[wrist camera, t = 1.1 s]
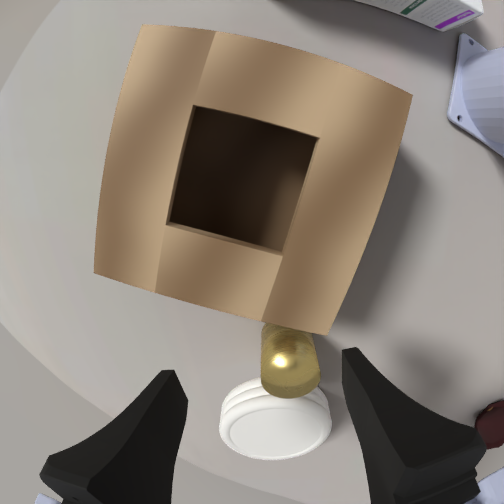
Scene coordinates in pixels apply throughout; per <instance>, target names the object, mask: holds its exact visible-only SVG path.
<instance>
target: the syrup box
mask: <svg viewBox="0 0 504 504" xmlns="http://www.w3.org/2000/svg"><path fill="white" fill-rule="evenodd" d="M354 1H358V2H362V3H365V4H369V5H372V6H375V7H378V8H382V9H385V10H388V11H390V12H393V13H396V14H399V15H401V16H404V17H407V18H409V19H412V20H415V21H417V22H420V23H422V24H424V25H427V26H429V27H432V28H434V29H436V30H439V31H442V32H444V31H447V30H451V29H454V28H456V27H459V26H461V25H464V24H466V23H468V22H470V21H472V20H474V19H476V18H477V17H479V16H481V15H482V14H483V7H482V1H481V0H354Z"/></svg>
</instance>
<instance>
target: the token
mask: <svg viewBox="0 0 504 504" xmlns="http://www.w3.org/2000/svg"><path fill="white" fill-rule="evenodd" d="M320 379H321V373H320V368H319V364H318V359H317V354H316V350H315V346H314V341H313V337H312V333H311V332H306V331H302V330H297V329H293V328H288V327H284V326H279V325H275V324H271V323H266V324H265V325H264V327H263V329H262V334H261V384H262V387H263V388H264V390H265V391H266V392H268V393H269V394H271V395H273V396H275V397H278V398H284V399H292V398H298V397H301V396H304V395H306V394H308V393H310V392H311V391H313V390H314V389H315V388H316V387H317V385H318V384H319V382H320Z"/></svg>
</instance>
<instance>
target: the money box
mask: <svg viewBox="0 0 504 504" xmlns="http://www.w3.org/2000/svg"><path fill="white" fill-rule="evenodd" d="M412 96H413V95H412V94H410V93H408V92H406V91H404V90H402V89H400V88H398V87H396V86H393V85H391V84H389V83H387V82H385V81H383V80H380V79H378V78H376V77H374V76H371V75H369V74H367V73H364V72H362V71H359V70H357V69H354V68H352V67H349V66H346V65H344V64H341V63H338V62H336V61H333V60H330V59H327V58H324V57H321V56H318V55H315V54H312V53H309V52H305V51H302V50H299V49H295V48H292V47H288V46H284V45H281V44H277V43H273V42H269V41H264V40H260V39H256V38H251V37H246V36H241V35H236V34H230V33H224V32H218V31H212V30H204V29H196V28H188V27H177V26H164V25H143V24H142V26H141V29H140V32H139V34H138V37H137V40H136V43H135V46H134V49H133V51H132V55H131V58H130V61H129V64H128V67H127V70H126V74H125V77H124V81H123V84H122V88H121V91H120V95H119V99H118V103H117V107H116V111H115V115H114V120H113V124H112V129H111V133H110V138H109V143H108V148H107V154H106V159H105V165H104V171H103V178H102V185H101V192H100V200H99V208H98V218H97V228H96V241H95V257H94V273H95V274H98V275H101V276H104V277H107V278H110V279H113V280H116V281H119V282H123V283H126V284H129V285H132V286H135V287H138V288H142V289H145V290H148V291H151V292H155V293H158V294H161V295H165V296H168V297H171V298H175V299H178V300H182V301H185V302H189V303H193V304H196V305H200V306H203V307H207V308H211V309H215V310H218V311H222V312H226V313H230V314H234V315H238V316H242V317H246V318H250V319H254V320H258V321H262V322H266V323H271V324H275V325H279V326H284V327H288V328H293V329H297V330H302V331H306V332H311V333H316V334H321V335H326V336H327V334H328V332H329V330H330V328H331V326H332V324H333V322H334V319H335V317H336V315H337V313H338V311H339V309H340V306H341V304H342V302H343V300H344V297H345V295H346V293H347V291H348V288H349V286H350V284H351V281H352V279H353V277H354V274H355V272H356V269H357V267H358V265H359V262H360V260H361V257H362V255H363V252H364V250H365V247H366V244H367V242H368V239H369V237H370V234H371V231H372V229H373V226H374V223H375V220H376V218H377V215H378V212H379V209H380V206H381V204H382V201H383V198H384V195H385V192H386V189H387V186H388V183H389V179H390V176H391V173H392V170H393V167H394V163H395V160H396V157H397V153H398V150H399V147H400V143H401V139H402V136H403V132H404V128H405V125H406V121H407V117H408V113H409V109H410V105H411V101H412Z"/></svg>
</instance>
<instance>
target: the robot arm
mask: <svg viewBox="0 0 504 504" xmlns="http://www.w3.org/2000/svg"><path fill="white" fill-rule="evenodd" d="M469 41H470V43H471V44H470V43H469ZM447 116H448V119H449V120H450V121H451V122H452V123H454V124H456V125H457V126H459V127H460V128H462V129H464V130H465V131H467V132H468V133H470V134H471V135H473V136H474V137H476V138H477V139H479V140H480V141H482V142H483V143H484V144H486V145H487V146H489V147H490V148H491V149H493V150H494V151H495V152H497V153H498V154H499V155H501V156H502V157H503V158H504V47H500V48H496V49H493V50H489V51H488V50H487V49H486V48H484V47H483V46H482V45H481V44H479V43H478V42H477V41H475V40H474V39H472V38H471V37H470V36H468V35H467V34H465V33H462V34H460V36H459V43H458V52H457V60H456V67H455V74H454V80H453V86H452V91H451V97H450V102H449V107H448V111H447ZM457 116H459V118H460V120H459V121H458V119H457ZM342 385H343V390H344V395H345V399H346V404H347V407H348V410H349V412H350V415H351V418H352V421H353V424H354V427H355V430H356V433H357V436H358V439H359V442H360V445H361V449H362V453H363V458H364V463H365V468H366V474H367V480H368V486H369V492H370V500H371V504H504V467H502V468H500V469H499V470H497V471H495V472H494V473H492V474H490V475H488V476H487V477H485V478H483V479H482V480H481V481H479V482H478V483H477V481H476V479H475V477H476V476H477V472H476V470H475V467H476V465H477V464H478V463H479V461H480V460H481V458H482V457H483V456H484V454H485V452H486V450H487V446H486V444H485V442H484V440H483V438H482V437H481V435H480V434H479V432H478V431H477V430H476V428H473V427H470V426H467V425H464V424H460V423H457V422H455V421H452V420H450V419H447V418H445V417H443V416H440V415H439V414H437V413H435V412H433V411H431V410H429V409H427V408H425V407H424V406H422V405H420V404H419V403H417V402H416V401H414V400H413V399H411V398H410V397H408V396H407V395H406V394H404V393H403V392H402V391H400V390H399V389H398V388H397V387H396V386H394V385H393V384H392V383H391V382H390V381H389V380H388V379H387V378H385V377H384V376H383V375H382V374H381V373H380V372H379V371H378V370H377V369H376V368H375V367H374V366H373V365H372V364H371V363H370V361H369V360H368V359H367V358H366V357H365V356H364V355H363V354H362V352H361V351H360V350H359V349H358V348H357V347H354V348H349V349H344V350H342ZM187 408H188V399H187V397H186V395H185V393H184V390H183V388H182V386H181V384H180V382H179V380H178V377H177V375H176V373H175V371H174V370H162V371H161V372H160V373H159V374H158V375H157V376H156V377H155V378H154V379H153V380H152V381H151V382H150V384H149V385H148V386H147V387H146V388H145V389H144V390H143V391H142V392H141V393H140V395H139V396H138V397H137V398H136V399H135V400H134V401H133V402H132V403H131V404H130V405H129V406H128V407H127V408H126V409H125V410H124V411H123V412H122V413H121V414H120V415H118V416H117V417H116V418H115V419H114V420H113V421H112V422H110V423H109V424H108V425H106V426H105V427H104V428H102V429H101V430H99V431H98V432H96V433H95V434H93V435H92V436H90V437H89V438H87V439H85V440H84V441H82V442H80V443H78V444H76V445H74V446H72V447H70V448H68V449H65V450H63V451H60V452H58V453H55V454H53V455H50V456H49V457H48V459H47V461H46V463H45V465H44V467H43V469H42V471H41V473H40V478H41V480H42V481H43V482H44V483H45V484H46V485H47V486H48V487H50V488H51V489H52V490H53V491H54V492H56V493H57V494H58V495H59V496H61V497H62V498H63V502H62V503H61V502H59V501H57V500H55V499H53V498H50V497H48V496H46V495H44V494H41V493H39V494H38V497H37V499H36V501H35V503H34V504H171V494H172V482H173V473H174V465H175V461H176V457H177V453H178V449H179V445H180V441H181V438H182V434H183V430H184V426H185V422H186V416H187Z"/></svg>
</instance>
